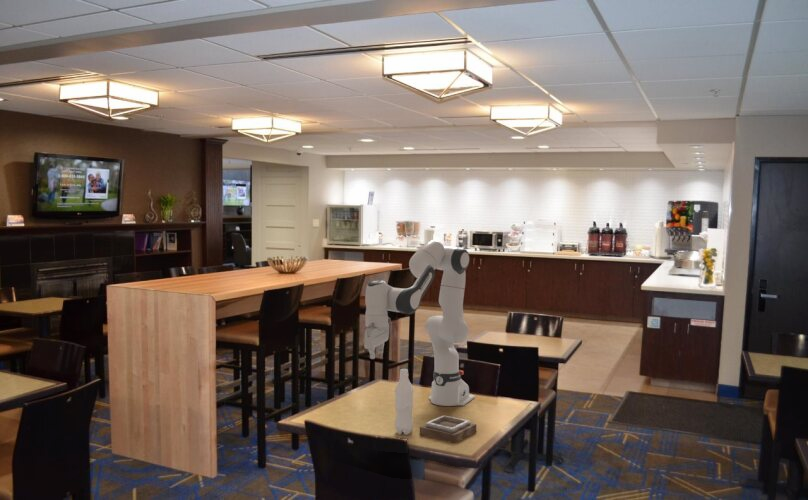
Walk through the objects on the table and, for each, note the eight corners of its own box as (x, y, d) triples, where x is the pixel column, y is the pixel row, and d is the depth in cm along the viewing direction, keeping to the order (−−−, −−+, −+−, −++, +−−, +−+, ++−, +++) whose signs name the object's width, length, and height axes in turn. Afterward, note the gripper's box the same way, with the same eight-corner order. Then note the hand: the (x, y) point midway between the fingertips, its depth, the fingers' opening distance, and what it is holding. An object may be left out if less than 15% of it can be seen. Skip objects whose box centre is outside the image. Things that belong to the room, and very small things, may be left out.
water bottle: (394, 430, 257) (394, 367, 256) (412, 429, 257) (412, 367, 256) (395, 436, 250) (395, 372, 248) (414, 435, 250) (414, 371, 249)
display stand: (442, 424, 264) (442, 413, 264) (476, 431, 255) (476, 420, 255) (419, 434, 251) (419, 423, 251) (454, 443, 242) (454, 431, 242)
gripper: (375, 326, 246) (375, 362, 247) (391, 318, 266) (391, 351, 266) (359, 325, 248) (360, 361, 249) (377, 317, 267) (377, 350, 268)
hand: (376, 356), depth 258 cm, fingers open, 8 cm apart
